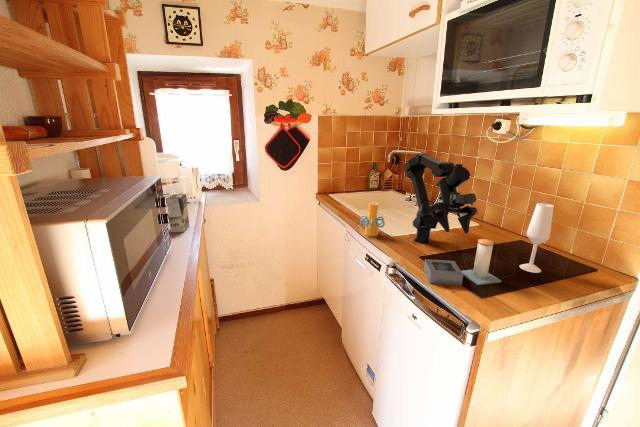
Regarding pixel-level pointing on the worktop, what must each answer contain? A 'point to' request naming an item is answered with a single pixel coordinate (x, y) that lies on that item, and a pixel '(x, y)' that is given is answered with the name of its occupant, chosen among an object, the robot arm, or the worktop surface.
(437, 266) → the frame
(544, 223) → the champagne flute
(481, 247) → the plug
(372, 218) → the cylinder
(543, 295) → the worktop surface
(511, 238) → the worktop surface
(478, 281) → the pad
